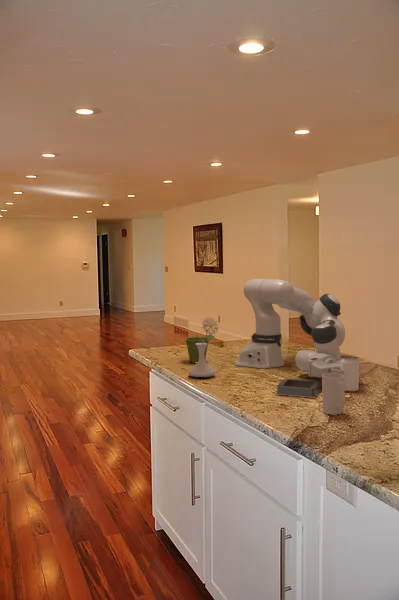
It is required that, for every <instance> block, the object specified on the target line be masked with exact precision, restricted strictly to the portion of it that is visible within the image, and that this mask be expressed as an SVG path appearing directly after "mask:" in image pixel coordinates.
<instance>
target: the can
mask: <svg viewBox="0 0 399 600" xmlns="http://www.w3.org/2000/svg"><path fill="white" fill-rule="evenodd" d="M359 362H360V361H359V357H357V356H354V355H353V356H351V355H344V356H341V370H342V371H344V373H343V374H344V392H349V393H350V392H351V393H352V392H357V391H358V390H359V389H360V388H359V387H360V385H359V383H360V382H359V380H360V379H359V378H360V377H359V376H360V373H359Z"/></svg>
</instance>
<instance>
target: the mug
mask: <svg viewBox="0 0 399 600" xmlns="http://www.w3.org/2000/svg"><path fill="white" fill-rule="evenodd" d="M321 390H322V391H321V392H322V393H321V395H322V396H321V397H322V403H321V404H322V412H324V413H323V414H325V413H326V415H328V414H331V415H330V416H338V415H337V414H340V415H342V414H343V413H344V404H345V403H344V402H345V391H344V375H342V374H337V373H326V374H323V375H322V377H321ZM341 413H342V414H341Z"/></svg>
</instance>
